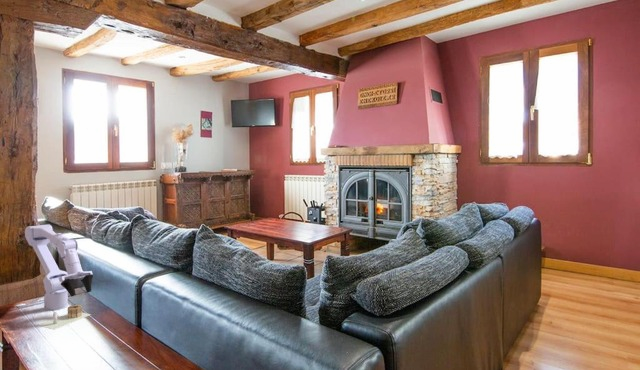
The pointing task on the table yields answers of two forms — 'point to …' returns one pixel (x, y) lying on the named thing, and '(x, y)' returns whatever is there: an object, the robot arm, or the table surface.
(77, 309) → the bead
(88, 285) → the robot arm
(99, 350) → the table surface
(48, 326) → the board
